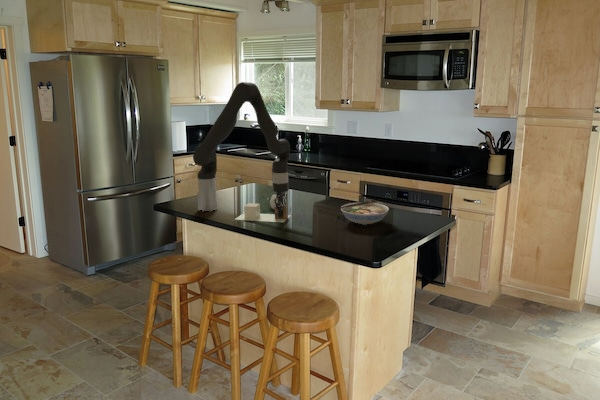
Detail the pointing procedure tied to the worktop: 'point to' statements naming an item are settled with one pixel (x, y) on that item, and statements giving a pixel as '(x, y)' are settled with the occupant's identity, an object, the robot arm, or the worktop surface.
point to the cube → (252, 210)
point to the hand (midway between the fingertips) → (281, 215)
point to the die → (273, 201)
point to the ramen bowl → (364, 212)
